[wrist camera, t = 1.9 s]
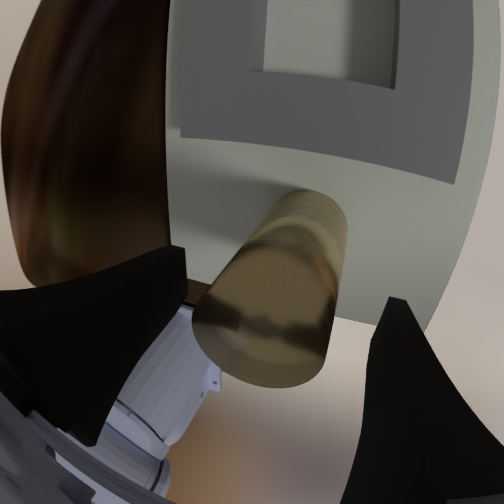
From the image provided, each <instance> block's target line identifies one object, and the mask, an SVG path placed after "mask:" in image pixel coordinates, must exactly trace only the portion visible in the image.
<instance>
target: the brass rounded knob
mask: <svg viewBox="0 0 504 504" xmlns="http://www.w3.org/2000/svg"><path fill="white" fill-rule="evenodd" d="M347 237H348V224H347V220H346V217H345V214H344V212H343V211H342V209H341V208H340V206H339V205H338V204H337V203H336V202H335V201H334V200H333V199H331V198H330V197H329V196H327V195H325V194H323V193H320V192H317V191H313V190H297V191H294V192H291V193H288V194H286V195H285V196H283V197H282V198H281V199H279V200H278V202H277V203H276V204H275V205H274V206H273V208H272V209H271V210H270V211H269V213H268V214H267V215H266V216H265V217H264V219H263V220H262V221H261V222H260V224H259V225H258V226H257V227H256V229H255V230H254V231H253V232H252V234H251V235H250V236H249V237H248V239H247V240H246V241H245V242H244V244H243V245H242V246H241V247H240V249H239V250H238V251H237V253H236V254H235V255H234V256H233V258H232V259H231V260H230V261H229V263H228V264H227V265H226V266H225V268H224V269H223V270H222V271H221V273H220V274H219V275H218V276H217V278H216V279H215V280H214V281H213V283H212V284H211V285H210V287H209V288H208V289H207V290H206V292H205V293H204V294H203V295H202V297H201V298H200V299H199V301H198V302H197V303H196V305H195V307H194V309H193V312H192V318H191V322H192V330H193V333H194V336H195V339H196V341H197V343H198V345H199V346H200V348H201V349H202V351H203V352H204V353H205V355H206V356H207V357H208V358H209V359H210V360H211V361H212V362H213V363H214V364H215V365H217V366H218V367H219V368H221V369H222V370H223V371H225V372H226V373H228V374H230V375H231V376H233V377H235V378H237V379H239V380H242V381H244V382H247V383H250V384H253V385H257V386H261V387H267V388H289V387H294V386H298V385H301V384H303V383H305V382H308V381H309V380H311V379H312V378H314V377H315V376H316V375H317V374H318V373H319V371H320V370H321V369H322V367H323V365H324V362H325V358H326V353H327V349H328V345H329V340H330V335H331V331H332V326H333V321H334V316H335V311H336V305H337V300H338V294H339V289H340V283H341V277H342V271H343V264H344V258H345V251H346V244H347Z"/></svg>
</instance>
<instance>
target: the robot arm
mask: <svg viewBox="0 0 504 504" xmlns="http://www.w3.org/2000/svg"><path fill="white" fill-rule="evenodd" d="M188 293H189V291H188V280H187V267H186V254H185V248H183V247H179V246H175V245H168V246H164V247H161V248H158V249H156V250H153V251H150V252H148V253H145V254H143V255H140V256H138V257H135V258H133V259H130V260H128V261H125V262H123V263H120V264H118V265H115V266H112V267H110V268H107V269H104V270H102V271H99V272H96V273H93V274H90V275H87V276H84V277H81V278H77V279H74V280H70V281H66V282H61V283H57V284H52V285H47V286H42V287H36V288H29V289H20V290H1V291H0V504H176V503H174V502H172V501H170V500H168V499H165V498H164V497H165V495H166V493H167V491H168V488H169V486H170V482H171V471H170V470H171V467H170V462H169V460H168V459H167V458H165V455H166V454H167V452H168V451H169V449H170V448H169V447H168V446H170V445H172V444H174V443H175V442H176V441H178V440H179V439H180V438H181V437H182V435H183V434H184V432H185V430H186V429H187V427H188V425H189V423H190V422H191V420H192V418H193V417H194V415H195V413H196V411H197V410H198V408H199V406H200V404H201V403H202V401H203V399H204V398H205V396H206V394H207V392H208V391H209V389H210V390H213V391H216V392H219V391H220V390H221V388H222V386H221V385H222V383H221V368H219V367H218V366H217V365H215V364H214V363H213V362H212V361H211V360H210V359H209V358H208V357H207V356H206V355H205V353H204V352H203V351H202V349H201V348H200V346H199V345H198V343H197V341H196V339H195V336H194V333H193V330H192V322H191V318H192V312H193V309H194V308H192V307H189V306H186V305H183V304H182V303H183V302H184V300H185V298H186V296H187V295H188ZM340 504H504V446H503V445H502V444H501V443H500V442H499V441H498V440H497V439H496V438H495V437H494V436H493V434H491V432H490V431H489V430H488V429H487V428H486V427H485V425H484V424H483V423H482V422H481V421H480V420H479V418H478V417H477V416H476V414H475V413H474V412H473V411H472V409H471V408H470V407H469V406H468V404H467V403H466V402H465V400H464V399H463V398H462V396H461V395H460V393H459V392H458V390H457V389H456V387H455V386H454V384H453V383H452V381H451V380H450V378H449V377H448V375H447V374H446V372H445V370H444V369H443V367H442V365H441V364H440V362H439V360H438V359H437V357H436V355H435V353H434V352H433V350H432V348H431V346H430V344H429V343H428V341H427V339H426V337H425V335H424V333H423V331H422V329H421V327H420V325H419V323H418V322H417V320H416V318H415V316H414V314H413V312H412V310H411V308H410V306H409V304H408V303H407V301H406V300H404V299H399V298H395V297H391V296H389V297H388V300H387V303H386V305H385V308H384V310H383V313H382V315H381V318H380V320H379V322H378V325H377V327H376V330H375V332H374V334H373V337H372V339H371V343H370V348H369V354H368V361H367V368H366V384H365V397H364V411H363V420H362V427H361V434H360V438H359V443H358V447H357V451H356V455H355V458H354V462H353V466H352V469H351V472H350V476H349V479H348V482H347V485H346V488H345V491H344V493H343V496H342V499H341V502H340Z"/></svg>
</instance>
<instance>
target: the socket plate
mask: <svg viewBox="0 0 504 504" xmlns="http://www.w3.org/2000/svg"><path fill="white" fill-rule="evenodd" d="M500 33H501V31H500V11H499V0H171V2H170V14H169V27H168V43H167V65H166V164H167V188H168V206H169V221H170V234H171V245H175V246H179V247H183V248H185V254H186V267H187V278H189V279H193V280H196V281H200V282H204V283H207V284H212V283H213V281H214V280H215V279H216V278H217V276H218V275H219V274H220V273H221V271H222V270H223V269H224V268H225V266H226V265H227V264H228V263H229V261H230V260H231V259H232V258H233V256H234V255H235V254H236V253H237V251H238V250H239V249H240V247H241V246H242V245H243V244H244V242H245V241H246V240H247V239H248V237H249V236H250V235H251V234H252V232H253V231H254V230H255V229H256V227H257V226H258V225H259V224H260V222H261V221H262V220H263V219H264V217H265V216H266V215H267V214H268V213H269V211H270V210H271V209H272V208H273V206H274V205H275V204H276V203H277V202H278V200H279V199H281V198H282V197H283V196H285V195H286V194H288V193H291V192H294V191H297V190H313V191H317V192H320V193H323V194H325V195H327V196H329V197H330V198H331V199H333V200H334V201H335V202H336V203H337V204H338V205H339V206H340V208H341V209H342V211H343V212H344V214H345V217H346V220H347V224H348V237H347V244H346V251H345V258H344V264H343V271H342V277H341V283H340V289H339V294H338V300H337V305H336V311H335V316H337V317H341V318H345V319H349V320H354V321H359V322H363V323H367V324H372V325H378V322H379V320H380V318H381V315H382V313H383V310H384V308H385V305H386V303H387V300H388V297H389V296H391V297H395V298H399V299H404V300H406V301H407V303H408V304H409V306H410V308H411V310H412V312H413V314H414V316H415V318H416V320H417V322H418V323H419V325H420V327H421V329H422V331H423V333H424V331H425V329H426V328H427V326H428V324H429V322H430V320H431V318H432V316H433V314H434V312H435V310H436V308H437V306H438V303H439V301H440V299H441V297H442V295H443V293H444V290H445V288H446V286H447V284H448V281H449V279H450V277H451V274H452V272H453V269H454V267H455V265H456V262H457V260H458V257H459V254H460V252H461V249H462V247H463V244H464V241H465V238H466V235H467V232H468V229H469V227H470V223H471V221H472V217H473V214H474V211H475V207H476V204H477V200H478V197H479V194H480V190H481V186H482V182H483V178H484V174H485V170H486V166H487V161H488V157H489V152H490V147H491V142H492V136H493V129H494V123H495V117H496V109H497V101H498V91H499V79H500V58H501V34H500Z"/></svg>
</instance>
